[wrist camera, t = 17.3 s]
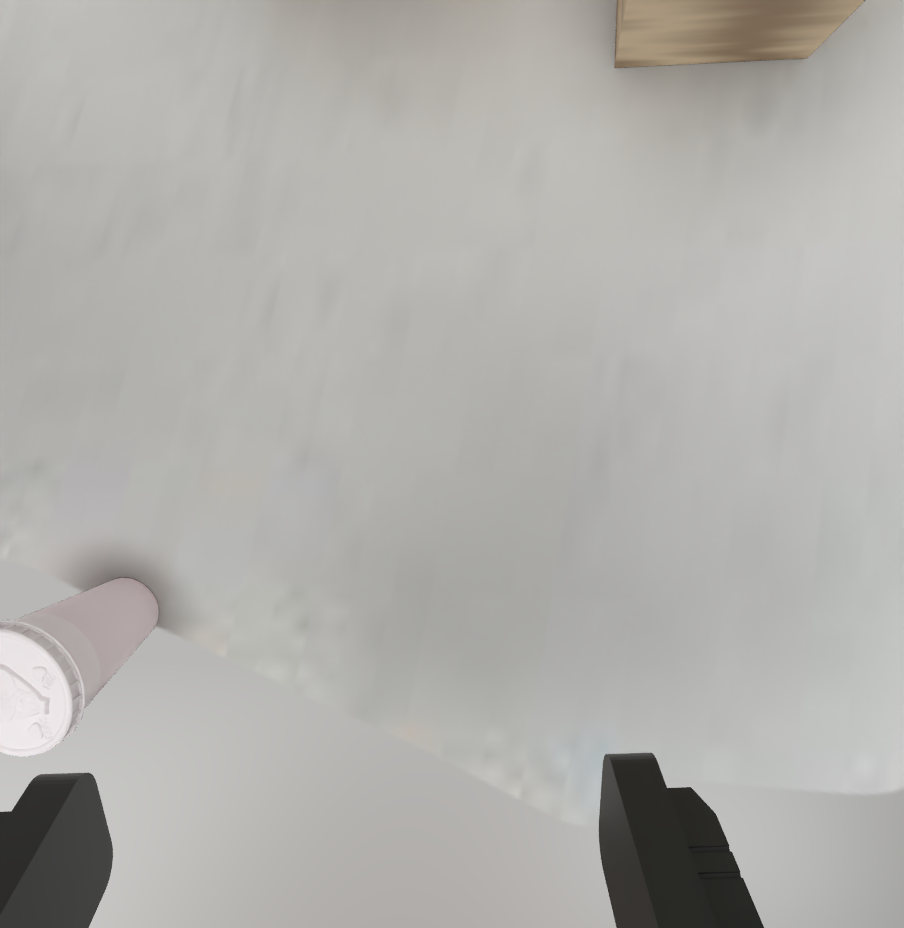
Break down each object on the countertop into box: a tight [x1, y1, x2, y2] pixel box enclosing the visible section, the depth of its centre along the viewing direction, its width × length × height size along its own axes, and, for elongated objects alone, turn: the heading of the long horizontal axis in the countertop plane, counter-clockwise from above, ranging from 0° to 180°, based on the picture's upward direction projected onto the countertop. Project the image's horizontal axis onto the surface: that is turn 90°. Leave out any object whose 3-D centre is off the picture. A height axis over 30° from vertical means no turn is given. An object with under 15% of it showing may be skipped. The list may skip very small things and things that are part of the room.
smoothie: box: [0, 578, 159, 757], centre depth 37 cm, size 6×6×14 cm
